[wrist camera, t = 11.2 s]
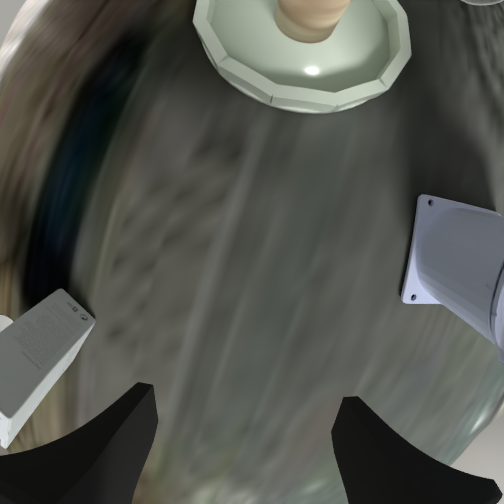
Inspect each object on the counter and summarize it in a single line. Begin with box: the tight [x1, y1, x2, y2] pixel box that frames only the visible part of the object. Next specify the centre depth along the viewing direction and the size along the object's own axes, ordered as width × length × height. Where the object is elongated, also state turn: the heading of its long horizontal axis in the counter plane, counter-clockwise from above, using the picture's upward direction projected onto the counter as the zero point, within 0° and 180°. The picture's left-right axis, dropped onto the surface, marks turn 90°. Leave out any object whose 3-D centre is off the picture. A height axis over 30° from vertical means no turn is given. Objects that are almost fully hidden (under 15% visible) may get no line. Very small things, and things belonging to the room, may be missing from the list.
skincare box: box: [0, 289, 96, 448], centre depth 15 cm, size 6×4×12 cm
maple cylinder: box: [275, 0, 351, 44], centre depth 12 cm, size 4×4×5 cm
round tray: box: [193, 0, 412, 114], centre depth 14 cm, size 14×14×3 cm
